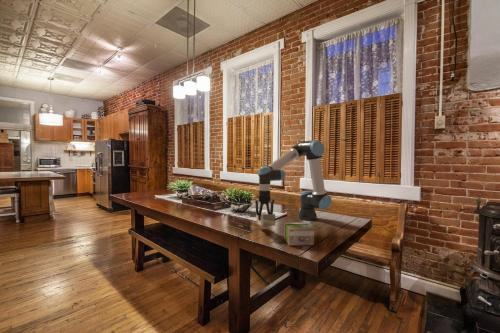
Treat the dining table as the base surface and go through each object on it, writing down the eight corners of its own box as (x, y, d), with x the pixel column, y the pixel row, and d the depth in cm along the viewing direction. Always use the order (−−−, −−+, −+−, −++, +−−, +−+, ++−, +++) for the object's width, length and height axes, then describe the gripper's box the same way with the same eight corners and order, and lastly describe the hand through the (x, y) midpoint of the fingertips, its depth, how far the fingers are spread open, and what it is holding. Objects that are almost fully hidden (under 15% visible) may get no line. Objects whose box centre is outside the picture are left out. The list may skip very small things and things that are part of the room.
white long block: (253, 224, 177) (253, 214, 178) (264, 223, 179) (264, 213, 180) (263, 226, 155) (262, 214, 156) (275, 225, 157) (274, 214, 158)
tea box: (306, 221, 158) (315, 229, 144) (306, 237, 159) (314, 246, 144) (283, 222, 157) (289, 229, 142) (283, 237, 158) (289, 246, 143)
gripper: (253, 191, 160) (253, 227, 161) (278, 190, 164) (278, 225, 165) (250, 189, 167) (250, 224, 168) (274, 189, 172) (274, 222, 172)
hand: (264, 224), depth 167 cm, fingers closed on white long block, 4 cm apart
